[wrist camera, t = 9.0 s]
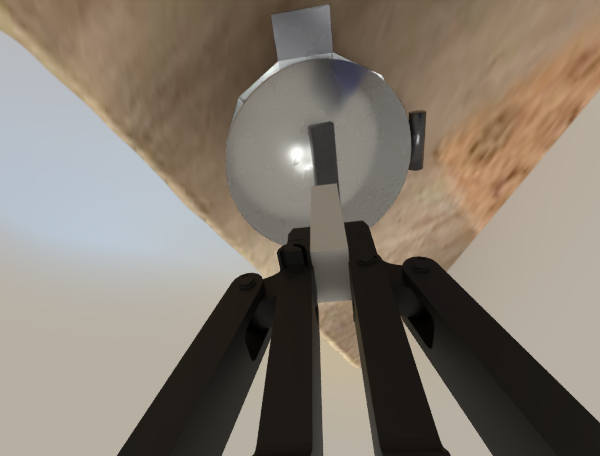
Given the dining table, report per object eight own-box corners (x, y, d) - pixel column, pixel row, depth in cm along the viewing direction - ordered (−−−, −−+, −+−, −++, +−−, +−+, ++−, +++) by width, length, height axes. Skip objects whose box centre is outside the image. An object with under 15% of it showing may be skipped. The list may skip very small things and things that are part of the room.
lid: (199, 78, 21) (198, 79, 20) (409, 43, 23) (421, 41, 22) (249, 262, 29) (251, 272, 27) (404, 223, 31) (412, 231, 29)
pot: (218, 32, 29) (194, 27, 23) (408, -1, 28) (436, -16, 22) (264, 231, 40) (256, 263, 34) (402, 216, 39) (420, 247, 33)
